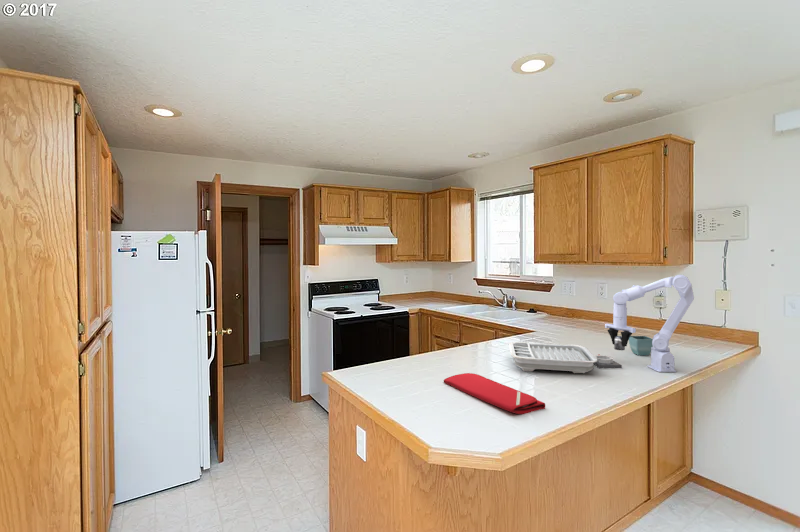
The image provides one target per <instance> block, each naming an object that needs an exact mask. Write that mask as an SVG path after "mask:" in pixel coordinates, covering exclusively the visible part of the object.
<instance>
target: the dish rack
mask: <svg viewBox="0 0 800 532" xmlns="http://www.w3.org/2000/svg"><path fill="white" fill-rule="evenodd" d="M508 345H509V351H510V355H511V357H513V361H514V365H515V366H518V367H519V368H520V369H522V371H523V372H533V371H535V370H548V371H549V370H551V371H563V372H564V371H567V372H568V371H569V372H572V373H573V374H575V373H585V374H586V373H588V372H590V371H593V370H594V365H593V363H594V362H597V359H596V357H595V356H596V355H594V354H593V353H592V352H591V351H590V350H589V348H587V347H586V346H583V345H579V344H567V343H566V344H561V343H539V342H524V341H512V342H510V343H509V344H508Z"/></svg>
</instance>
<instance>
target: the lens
mask: <svg viewBox="0 0 800 532" xmlns="http://www.w3.org/2000/svg"><path fill="white" fill-rule="evenodd" d="M613 346H614V347H613V348H614V350H616V351H625V350H626V346H625V347H623V346H622V335H617V336H614V344H613Z"/></svg>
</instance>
